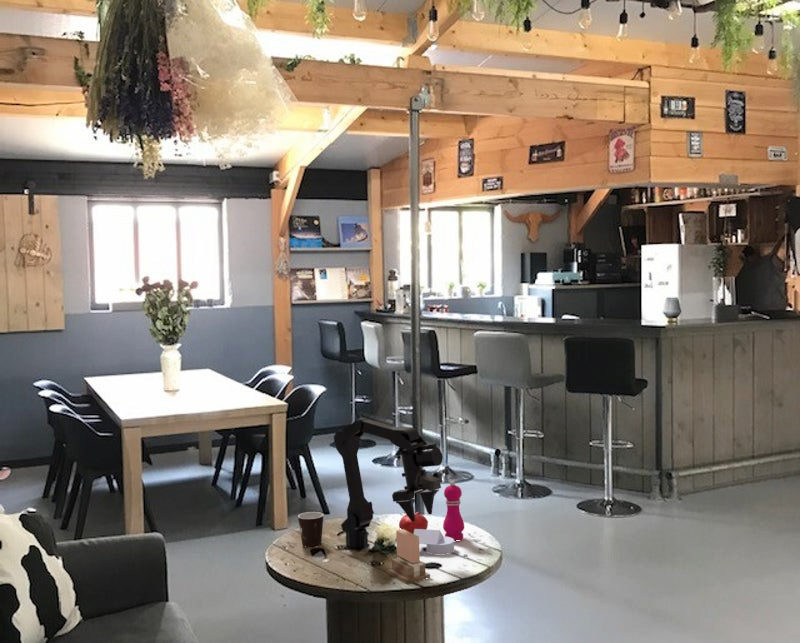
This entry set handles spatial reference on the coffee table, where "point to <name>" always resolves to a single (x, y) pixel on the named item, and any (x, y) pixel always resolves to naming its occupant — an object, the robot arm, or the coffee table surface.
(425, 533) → the wedge on round base
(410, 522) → the pomegranate
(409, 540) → the peach rectangular panel
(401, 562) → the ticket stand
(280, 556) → the coffee table surface
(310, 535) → the coffee mug
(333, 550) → the coffee table surface
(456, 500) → the pepper mill
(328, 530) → the coffee table surface
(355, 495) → the robot arm
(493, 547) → the coffee table surface
